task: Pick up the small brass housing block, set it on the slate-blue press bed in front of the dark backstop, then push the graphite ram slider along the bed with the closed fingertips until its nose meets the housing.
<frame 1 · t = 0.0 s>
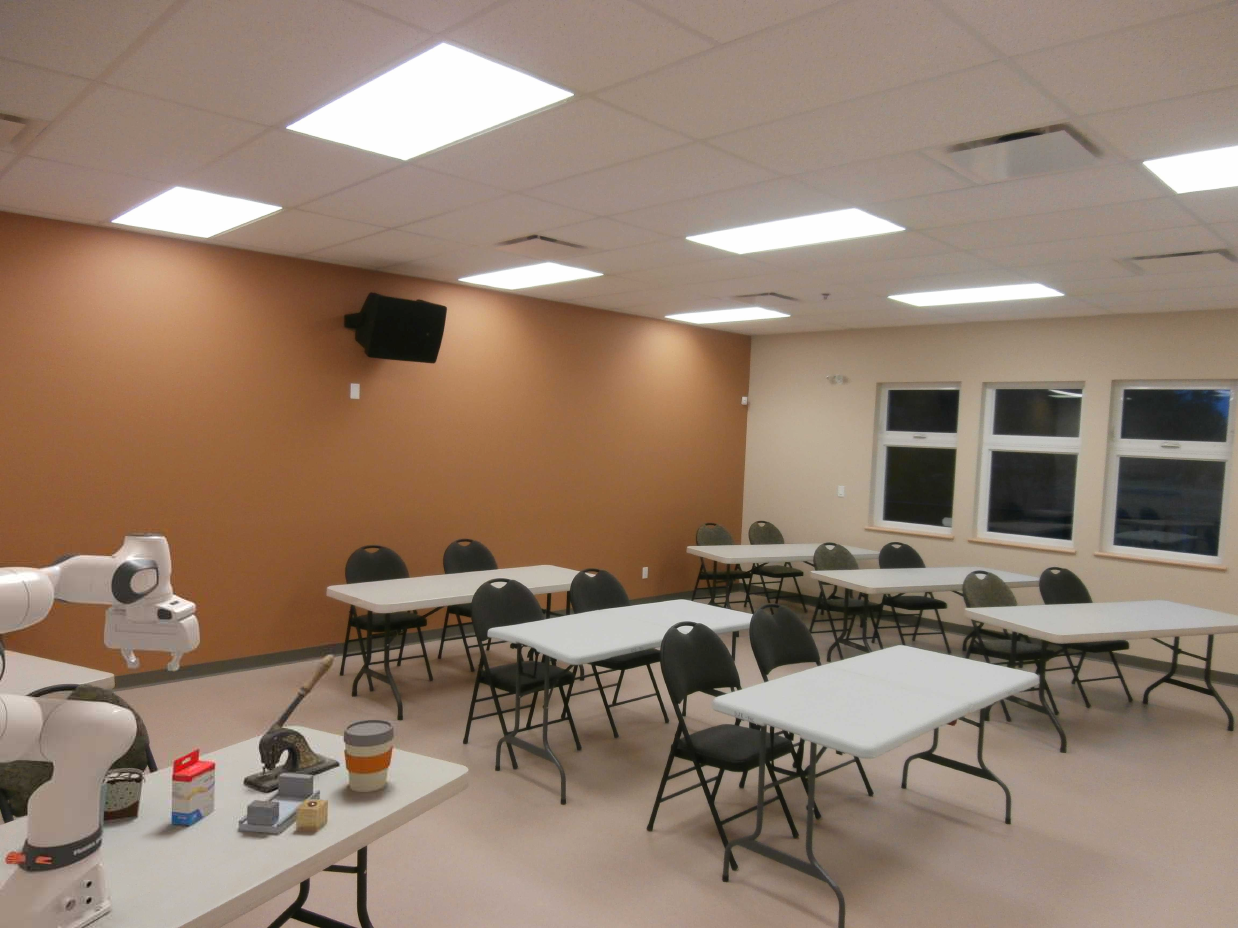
hand: (153, 668, 169), 39 cm above the table, tool pointing down, fingers open, 8 cm apart
embossing press: (294, 774, 209), on the table
food container: (116, 815, 184), on the table
grey green pot: (79, 838, 173), on the table
ink box: (193, 817, 184), on the table
housing: (312, 825, 181), on the table
reusable coffee cup: (368, 785, 204), on the table
ram: (264, 811, 180), point 4 cm above the table, slide at 0.0 cm
press bed: (281, 813, 187), on the table
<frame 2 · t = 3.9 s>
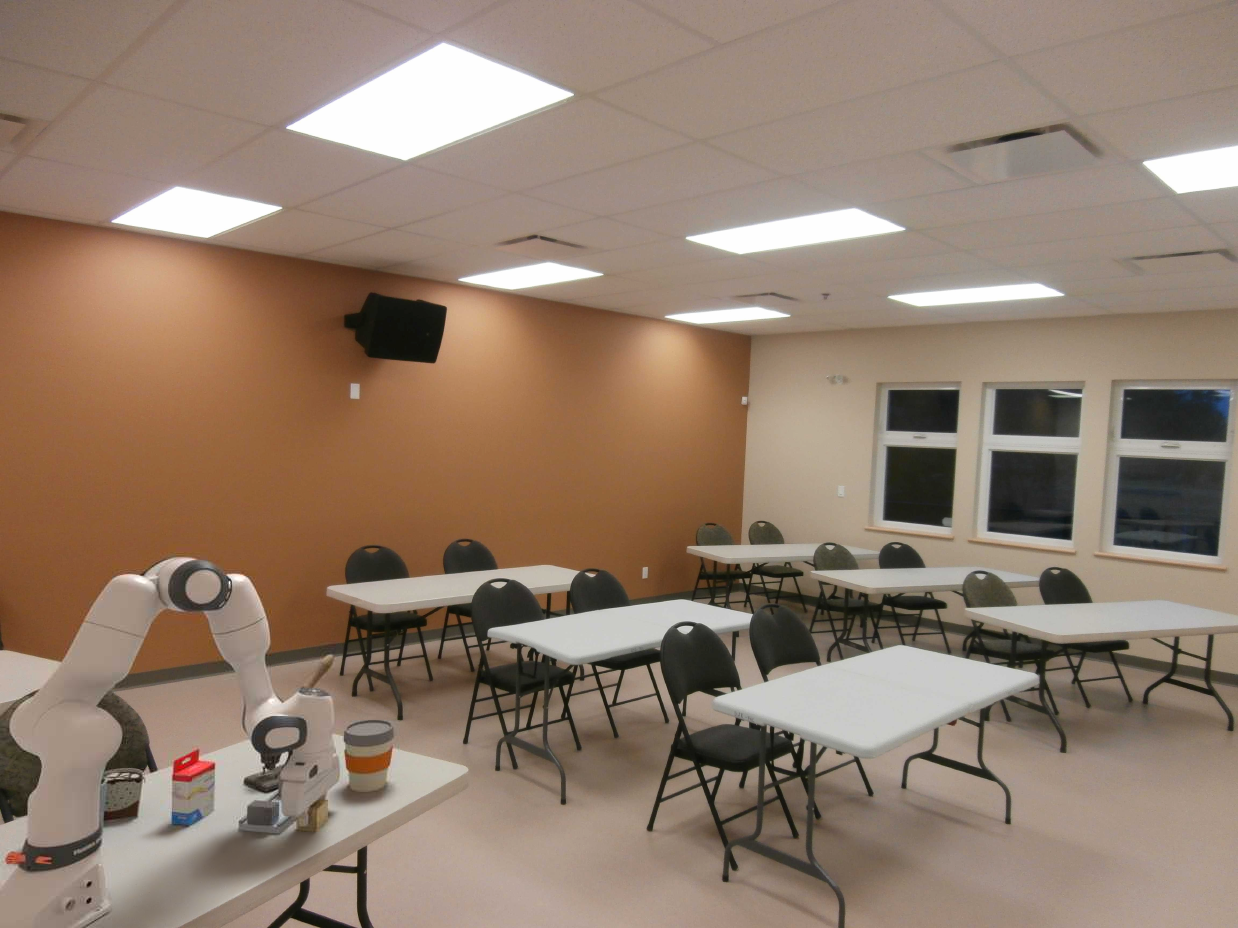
hand: (312, 817, 181), 2 cm above the table, tool pointing down, fingers closed on housing, 5 cm apart
housing: (312, 824, 181), on the table, touching gripper
everything else where it was.
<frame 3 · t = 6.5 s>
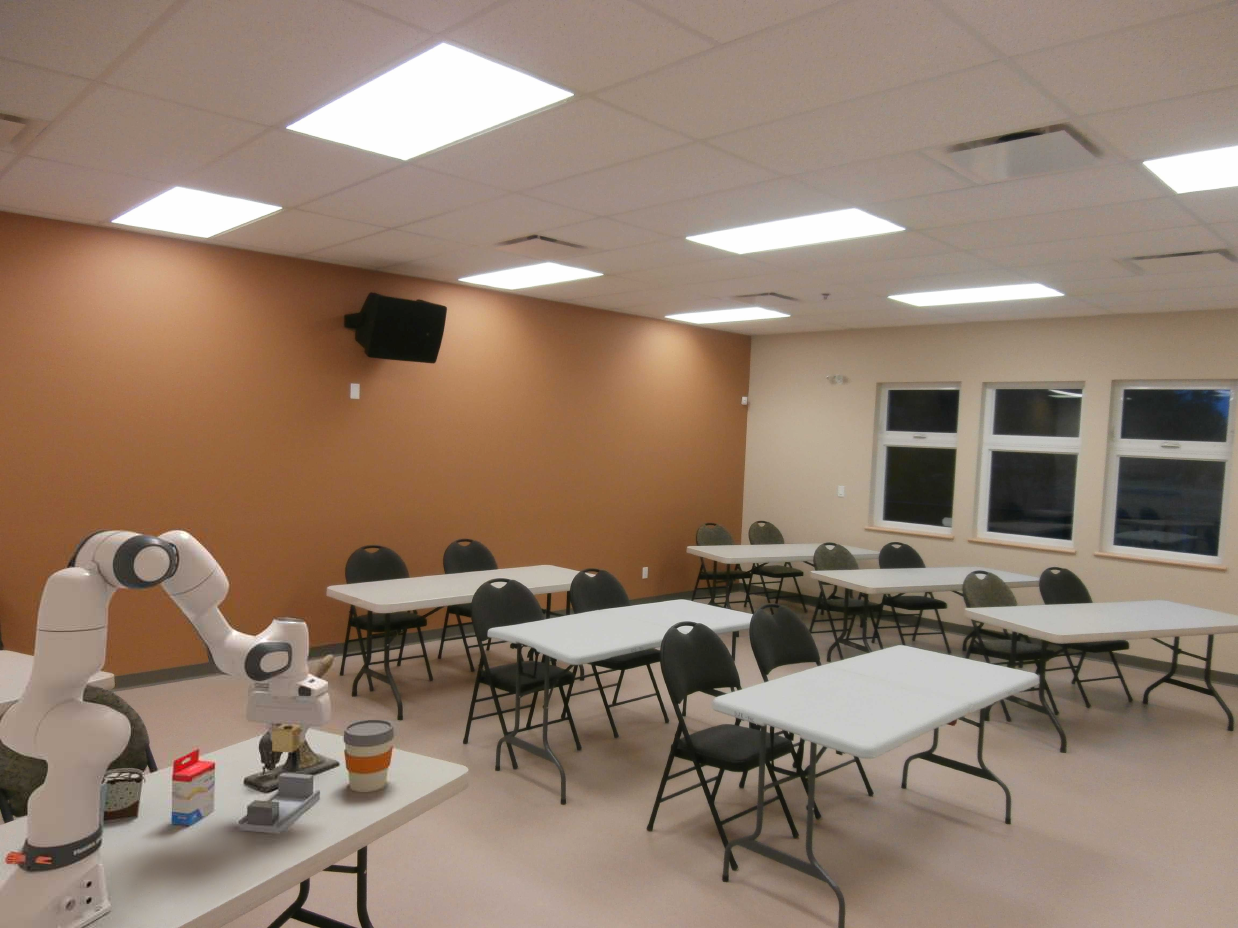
hand: (287, 741, 189), 16 cm above the table, tool pointing down, fingers closed on housing, 5 cm apart
housing: (287, 747, 189), point 15 cm above the table, touching gripper
everything else where it was.
when the fingers open (5 cm above the table, at t = 9.0 s): housing drops 1 cm, resting on press bed.
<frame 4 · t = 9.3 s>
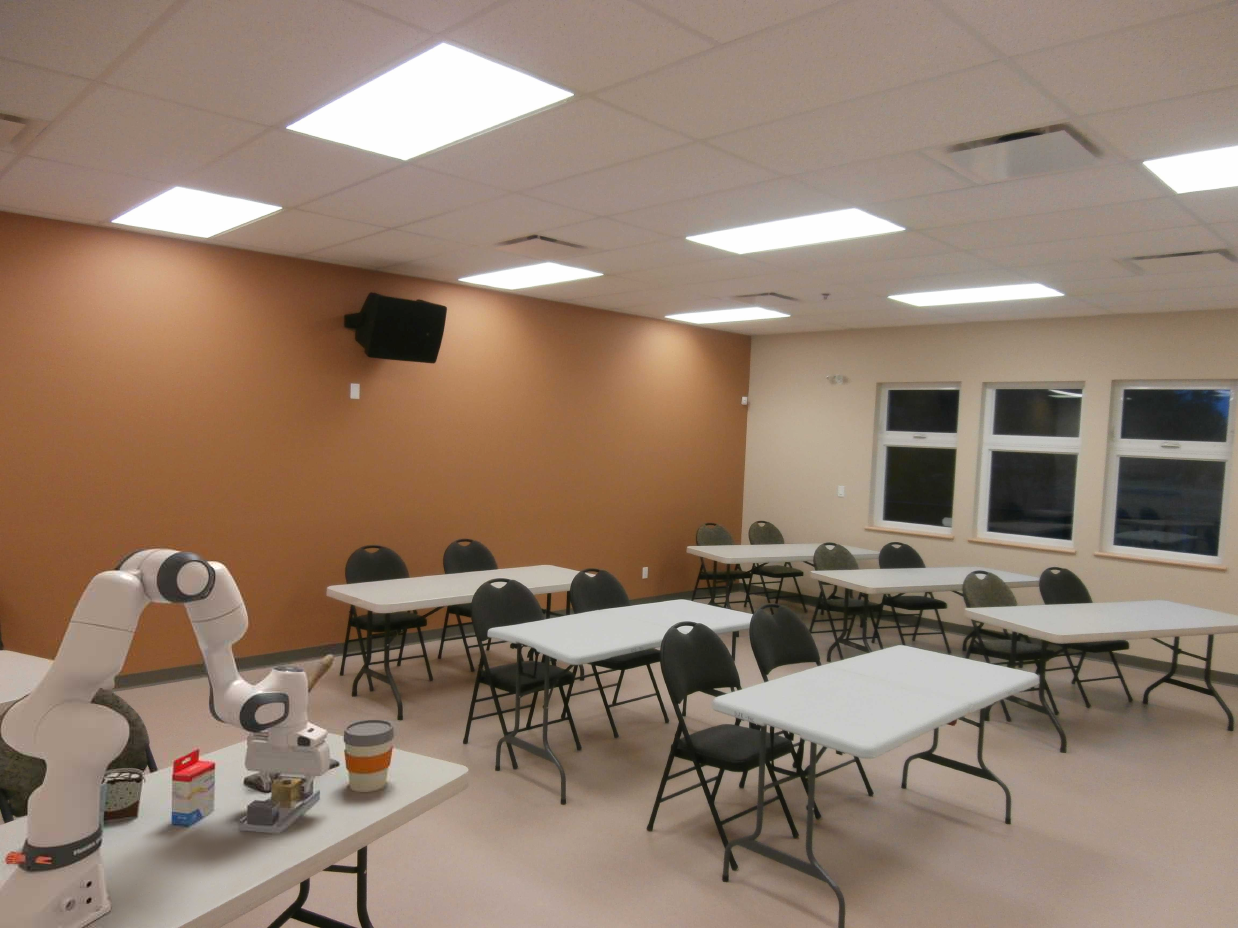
hand: (286, 790, 189), 5 cm above the table, tool pointing down, fingers open, 8 cm apart
housing: (286, 802, 189), point 1 cm above the table, touching press bed
everything else where it was.
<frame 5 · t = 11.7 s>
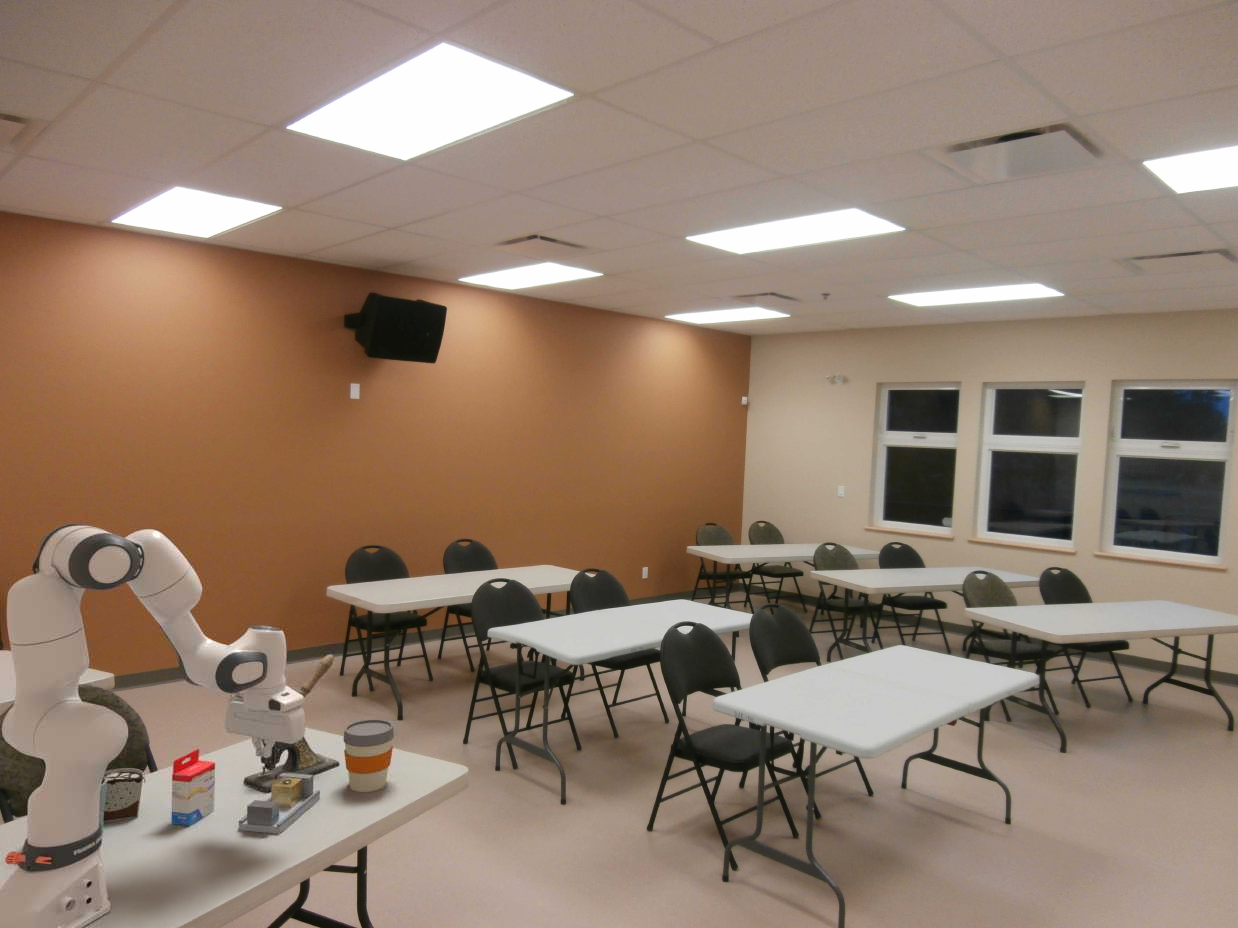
hand: (263, 756, 179), 17 cm above the table, tool pointing down, fingers closed
nothing on the table moved.
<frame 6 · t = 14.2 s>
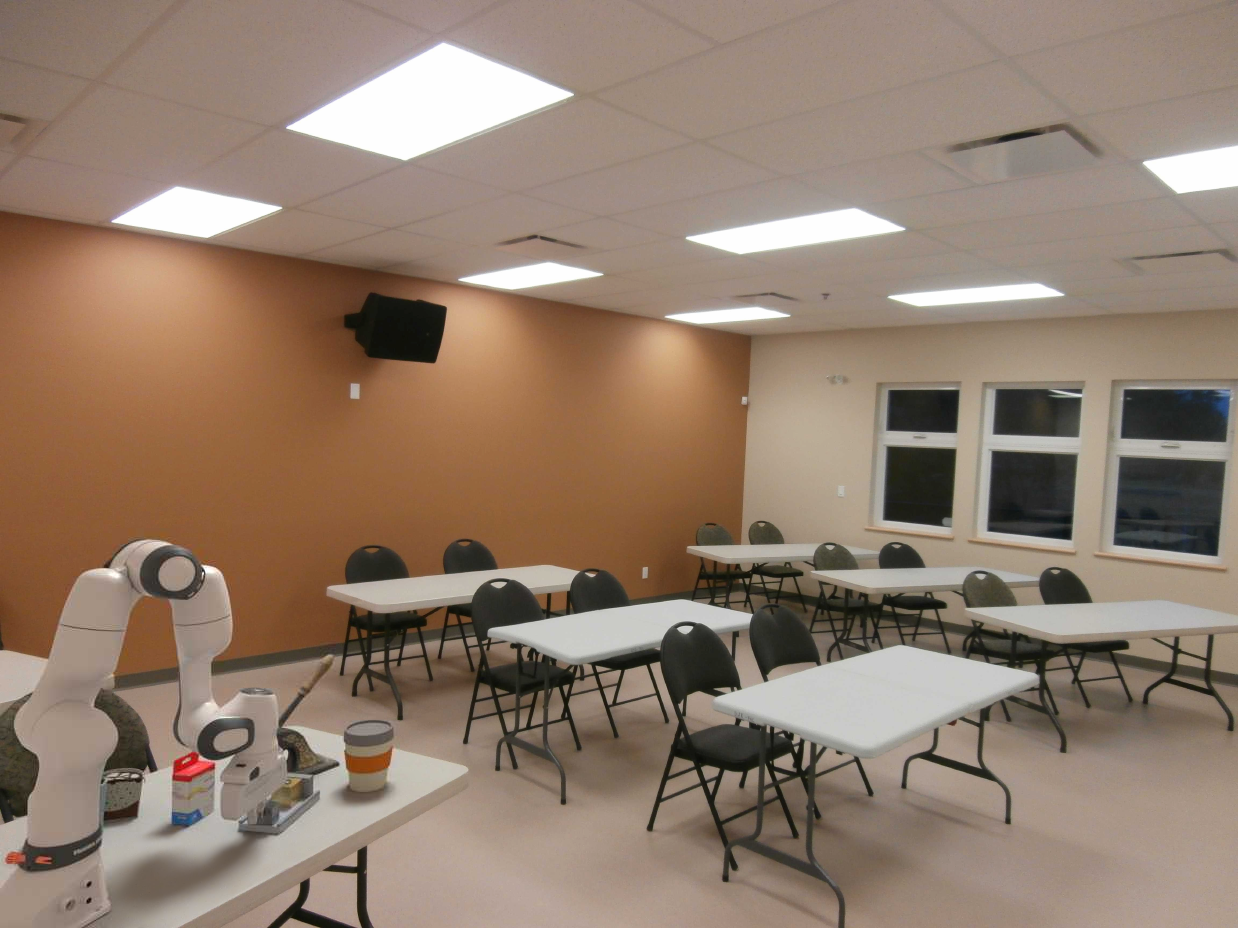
hand: (255, 821, 176), 3 cm above the table, tool pointing down, fingers closed
ram: (265, 810, 180), point 4 cm above the table, slide at 0.2 cm, touching gripper
everything else where it was.
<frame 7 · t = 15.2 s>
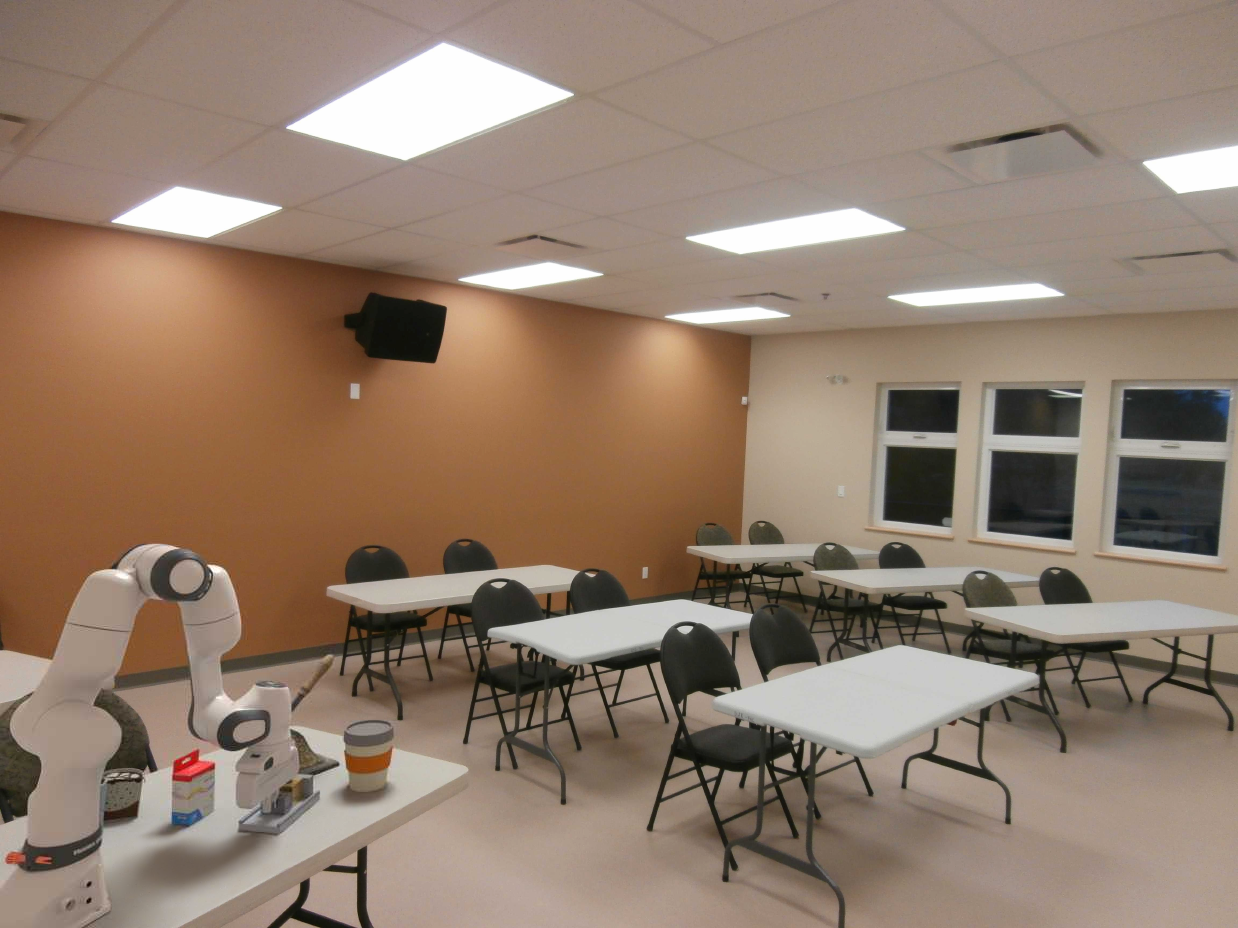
hand: (269, 810, 181), 3 cm above the table, tool pointing down, fingers closed
housing: (287, 801, 189), point 2 cm above the table, touching press bed, ram
ram: (277, 801, 185), point 4 cm above the table, slide at 5.3 cm, touching gripper, housing
everything else where it was.
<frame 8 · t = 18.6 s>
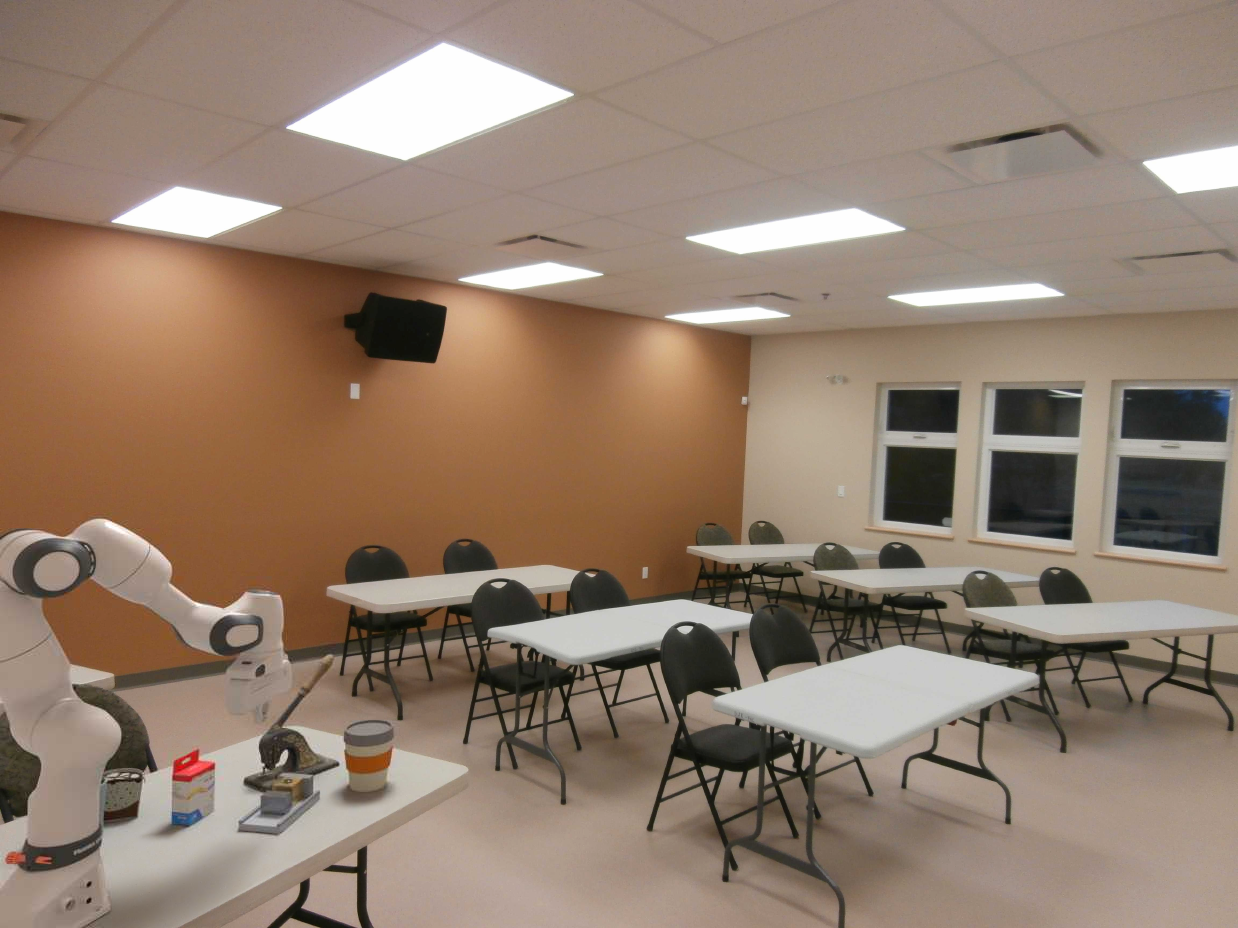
hand: (260, 721, 177), 25 cm above the table, tool pointing down, fingers closed
housing: (287, 801, 189), point 1 cm above the table, touching press bed
ram: (277, 801, 185), point 4 cm above the table, slide at 5.3 cm
everything else where it was.
at the end: housing 1.0 cm from the target spot on the press bed, point 1.5 cm above the press bed's base; ram slide at 5.3 cm; housing tilted 0° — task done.
